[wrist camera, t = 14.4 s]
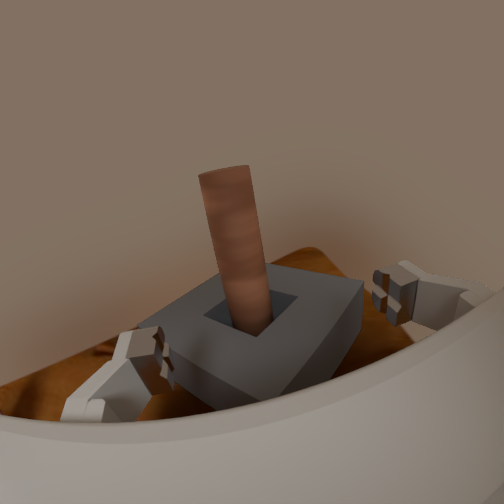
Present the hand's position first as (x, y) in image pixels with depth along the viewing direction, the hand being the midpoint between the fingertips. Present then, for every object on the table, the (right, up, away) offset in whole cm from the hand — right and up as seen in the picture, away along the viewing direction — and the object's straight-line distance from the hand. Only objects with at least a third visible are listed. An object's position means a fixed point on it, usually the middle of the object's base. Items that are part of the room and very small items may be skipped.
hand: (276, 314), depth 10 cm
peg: (0, -6, +12) cm, 13 cm away
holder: (0, -6, +13) cm, 14 cm away
